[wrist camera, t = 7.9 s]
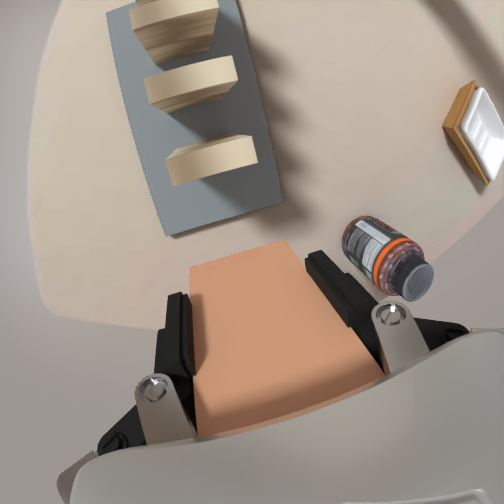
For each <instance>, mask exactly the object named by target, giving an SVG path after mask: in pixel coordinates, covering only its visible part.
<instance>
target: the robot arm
mask: <svg viewBox="0 0 504 504" xmlns="http://www.w3.org/2000/svg"><path fill="white" fill-rule="evenodd" d="M305 266H306V272H307V273H308V274H309V276H310V277H311V278H312V280H313V281H314V282H315V284H316V285H317V286H318V288H319V289H320V290H321V292H322V293H323V294H324V296H325V297H326V298H327V300H328V301H329V303H330V304H331V305H332V307H333V308H334V309H335V311H336V312H337V313H338V315H339V316H340V318H341V319H342V320H343V322H344V323H345V325H346V326H347V327H348V328H349V327H351V328H352V329H353V331H354V332H355V333H356V335H357V336H358V338H359V339H360V340H361V342H362V343H363V344H364V346H365V347H366V349H367V350H368V351H369V353H370V354H371V356H372V357H373V358H374V360H375V361H376V363H377V364H378V365H379V367H380V368H381V370H382V371H383V372H384V374H385V376H383V377H381V378H379V379H376V380H374V381H372V382H370V383H368V384H366V385H363V386H361V387H359V388H357V389H354V390H352V391H350V392H347V393H345V394H342V395H340V396H337V397H335V398H332V399H330V400H327V401H325V402H322V403H319V404H317V405H314V406H311V407H308V408H306V409H303V410H300V411H297V412H294V413H291V414H288V415H285V416H281V417H278V418H275V419H271V420H268V421H265V422H261V423H257V424H254V425H250V426H246V427H242V428H238V429H234V430H230V431H225V432H221V433H216V434H211V435H206V436H201V437H198V432H197V422H196V411H195V399H194V385H193V376H196V371H195V356H194V338H193V316H192V304H191V302H190V299H189V297H188V295H187V294H184V295H183V294H182V292H178V293H175V294H171V295H168V301H167V312H166V323H165V328H163V329H160V330H158V335H157V345H156V355H155V368H154V374H152V375H149V376H147V377H145V378H144V379H142V380H141V381H140V382H139V384H138V385H137V386H136V389H135V400H136V405H135V406H134V407H133V408H132V409H131V410H130V411H129V412H128V413H127V414H126V415H125V416H124V417H122V419H120V420H119V421H118V422H117V423H116V424H115V425H114V426H113V427H112V428H111V429H110V430H109V431H108V432H107V433H106V434H105V435H104V436H103V437H102V438H101V439H100V441H99V444H98V449H97V451H96V452H94V451H91V452H90V453H88V454H87V455H85V456H84V457H83V458H82V459H80V460H79V461H77V462H76V463H75V464H73V465H72V466H71V467H69V468H68V469H66V470H65V471H64V472H62V473H61V474H60V475H59V477H58V479H57V489H58V491H59V493H60V496H61V497H62V499H63V501H64V503H65V504H504V328H472V329H471V331H468V330H467V329H466V328H465V327H464V326H462V325H460V324H457V323H451V322H443V321H435V320H428V319H420V318H413V316H412V314H411V312H410V310H409V309H408V308H407V306H405V305H404V304H402V303H399V302H395V301H387V302H383V303H380V304H379V303H378V302H377V301H376V300H375V299H374V298H373V297H372V296H371V295H370V294H369V293H368V292H367V291H366V290H365V289H364V288H363V287H362V285H361V284H360V283H359V282H358V281H357V280H356V279H355V278H354V277H353V276H352V275H351V274H349V273H345V274H344V273H343V272H342V271H341V270H340V269H339V268H338V266H337V265H336V264H335V263H334V262H333V261H332V260H331V259H330V258H329V257H328V256H327V255H326V254H325V253H324V252H323V251H322V250H319V251H316V252H313V253H309V254H308V258H305Z"/></svg>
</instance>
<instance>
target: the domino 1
mask: <svg viewBox="0 0 504 504" xmlns="http://www.w3.org/2000/svg"><path fill="white" fill-rule="evenodd" d="M218 10H219V5H218V2H217V0H157V1H154V2H151V3H147V4H144V5H141V6H138V7H135V8H132V9H129V14H130V19H131V24H132V29H133V31H134V33H135V34H136V36H137V37H138V39H139V41H140V42H141V44H142V45H143V47H144V48H145V50H146V51H147V53H148V55H149V56H150V58H151V59H152V61H153V62H154V64H158V63H161V62H165V61H168V60H171V59H175V58H178V57H182V56H186V55H190V54H194V53H198V52H202V51H207V50H210V45H211V40H212V36H213V31H214V27H215V23H216V18H217V14H218Z"/></svg>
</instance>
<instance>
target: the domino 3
mask: <svg viewBox="0 0 504 504" xmlns="http://www.w3.org/2000/svg"><path fill="white" fill-rule="evenodd" d="M165 161H166V165H167V168H168V171H169V175H170V178H171V181H172V185H173V187H174V186H177V185H180V184H183V183H186V182H190V181H193V180H196V179H200V178H203V177H207V176H210V175H214V174H217V173H221V172H224V171H228V170H232V169H236V168H239V167H243V166H247V165H251V164H255V163H258V161H257V157H256V152H255V148H254V144H253V139H252V136H247V135H239V134H232V133H230V134H226V135H222V136H218V137H214V138H211V139H207V140H203V141H200V142H196V143H193V144H189V145H186V146H183V147H179V148H176V149H175V151H174V152H173V153H172V154H171V155H170V156H169V157H168V158H167V159H166V160H165Z"/></svg>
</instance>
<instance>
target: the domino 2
mask: <svg viewBox="0 0 504 504" xmlns="http://www.w3.org/2000/svg"><path fill="white" fill-rule="evenodd" d="M237 81H238V77H237V73H236V69H235V66H234V62H233V58H232V55H231V56H225V57H220V58H216V59H211V60H207V61H202V62H198V63H194V64H190V65H186V66H183V67H179V68H176V69H172V70H169V71H165V72H162V73H159V74H156V75H153V76H150V77H147V78H144V83H145V87H146V91H147V95H148V99H149V103H150V104H151V105H153V106H154V107H156V108H158V109H160V110H162V111H164V112H165V113H170V112H173V111H177V110H180V109H183V108H187V107H190V106H194V105H198V104H201V103H205V102H209V101H213V100H217V99H221V98H223V96H224V95H225V94H226V93H227V92H228V91H229V90H230V89H231V88H232V86H233V85H234V84H235V83H236V82H237Z"/></svg>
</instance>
